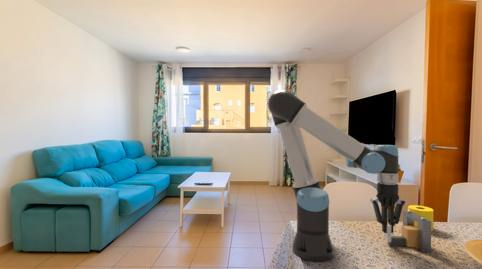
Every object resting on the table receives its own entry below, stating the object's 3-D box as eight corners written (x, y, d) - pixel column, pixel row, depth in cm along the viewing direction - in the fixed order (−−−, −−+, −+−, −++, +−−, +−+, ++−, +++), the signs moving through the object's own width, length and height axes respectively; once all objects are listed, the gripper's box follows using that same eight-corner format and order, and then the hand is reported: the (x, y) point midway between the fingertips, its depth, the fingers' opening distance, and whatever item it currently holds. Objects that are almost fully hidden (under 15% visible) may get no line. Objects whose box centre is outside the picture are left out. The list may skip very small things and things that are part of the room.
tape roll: (416, 222, 129) (416, 204, 129) (438, 229, 119) (438, 209, 119) (403, 225, 125) (403, 206, 125) (424, 232, 116) (424, 212, 116)
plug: (392, 246, 102) (392, 229, 102) (386, 242, 106) (386, 225, 106) (428, 247, 101) (428, 229, 101) (421, 243, 105) (421, 226, 105)
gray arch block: (422, 252, 97) (422, 219, 97) (402, 238, 110) (402, 209, 110) (430, 252, 96) (431, 219, 96) (409, 238, 109) (409, 209, 109)
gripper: (375, 184, 100) (375, 244, 100) (409, 184, 99) (409, 244, 99) (367, 181, 108) (367, 236, 108) (398, 181, 107) (398, 237, 107)
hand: (387, 240), depth 103 cm, fingers closed
